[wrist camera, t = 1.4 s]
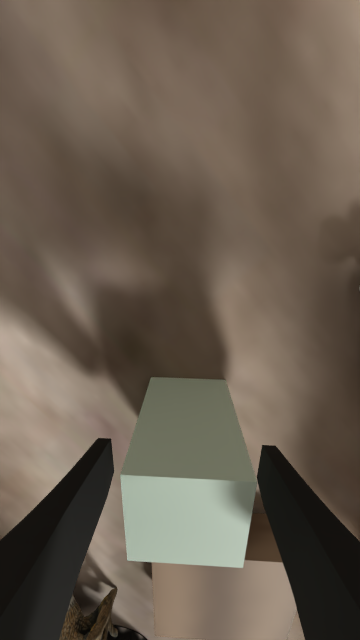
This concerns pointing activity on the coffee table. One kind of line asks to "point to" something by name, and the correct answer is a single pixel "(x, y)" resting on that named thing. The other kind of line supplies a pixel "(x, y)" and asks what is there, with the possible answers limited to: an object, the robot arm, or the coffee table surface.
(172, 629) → the walnut plinth
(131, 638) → the spotted tube
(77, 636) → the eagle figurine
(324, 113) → the coffee table surface
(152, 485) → the sage block
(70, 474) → the robot arm
